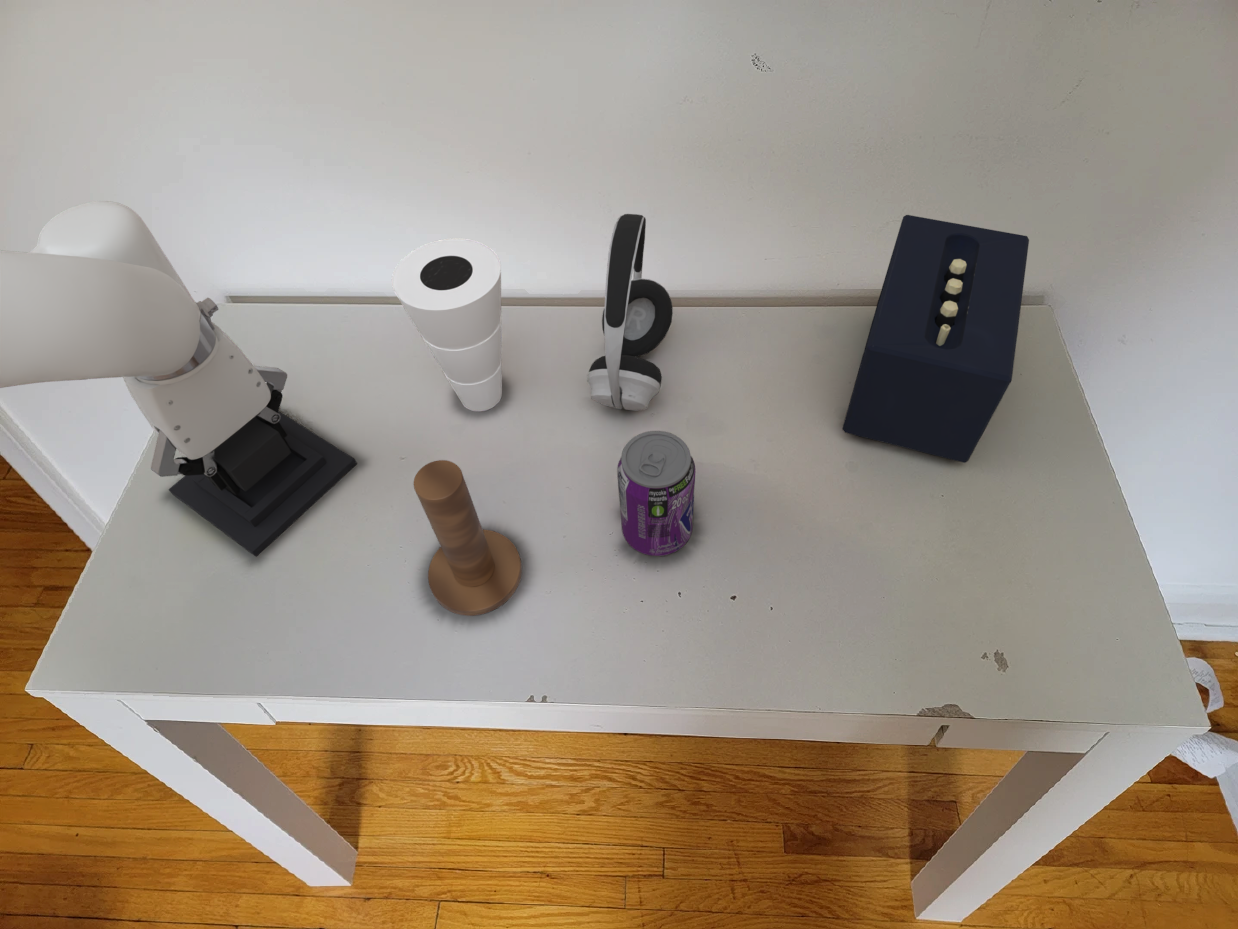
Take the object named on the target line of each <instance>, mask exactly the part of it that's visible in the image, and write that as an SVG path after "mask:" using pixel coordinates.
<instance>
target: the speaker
mask: <svg viewBox="0 0 1238 929" xmlns="http://www.w3.org/2000/svg"><path fill="white" fill-rule="evenodd" d="M1029 244H1030V239H1029V236H1027V235H1023V234H1018V233H1012V232H1007V231H1001V230H995V229H990V228H984V227H979V226H973V225H967V224H961V223H956V222H950V221H945V220H938V219H933V218H927V217H923V216H918V215H917V216H916V215H911V214H905V215H904V216H903V217H902V219H901V223H900V226H899V229H898V233H897V237H896V239H895V243H894V247H893V249H892V253H891V256H890V259H889V262H888V266H887V270H886V273H885V277H884V280H883V282H882V287H881V290H880V293H879V297H878V300H877V304H876V307H875V311H874V314H873V318H872V321H871V325H870V328H869V332H868V336H867V339H866V343H865V346H864V350H863V354H862V357H861V361H860V363H859V368H858V371H857V375H856V378H855V382H854V385H853V388H852V392H851V396H850V400H849V404H848V406H847V410H846V414H845V417H844V421H843V424H842V431H843V432H844V433H845V434H850V435H854V436H858V437H861V438H865V439H869V440H873V441H877V442H882V443H885V444H890V445H893V446H897V447H901V448H905V449H908V450H913V451H917V452H920V453H925V454H928V455H932V456H936V457H941V458H944V459H948V460H952V461H956V462H960V463H964V464H966V463H967V462H969V460H970V458H971V457H972V455H973V453H974V451H975V450H976V447H977V445H978V443H979V442H980V440H981V438H982V436H983V434H984V432H985V430H987V427H988V426H989V423H990V421H991V419H992V417H993V416H994V414H995V412H996V410H997V409H998V406H999V404H1001V401H1002V399H1003V397H1004V396H1005V393H1006V392H1007V390H1008V388H1009V386H1010V384H1011V382H1012V381H1013V380H1012V379H1013V374H1014V373H1013V372H1014V364H1015V356H1016V348H1017V342H1018V341H1017V340H1018V333H1019V325H1020V316H1021V310H1022V302H1023V301H1022V299H1023V293H1024V292H1023V291H1024V284H1025V277H1026V276H1025V275H1026V268H1027V259H1028V252H1029Z"/></svg>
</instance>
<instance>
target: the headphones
mask: <svg viewBox="0 0 1238 929" xmlns="http://www.w3.org/2000/svg"><path fill="white" fill-rule="evenodd" d="M646 224H647V219H646V217H645V216H643V214H636V213H624V214H622V215H619V217H618V218H617V219H616V221H615V223H614V226H613V229H612V233H611V237H610V242H609V247H608V254H607V267H606V273H605V275H606V276H605V290H604V291H605V292H604V307H603V310H602V315H601V329H602V330H601V331H602V333H603V336H604V352H605V353H604V354H605V355H604V356H603V355H602V356H600V357H599V358H597V359H595V360H594V361H593V362H592V364H591V365H590V368H589V370H588V372H587V375H586V376H587V379H586V382H587V383H588V385H589V388H590V398H591V399H592V400H593V401H595V402H596V403H599V404H601V405H603V406H606V407H610V408H614V409H616V410H619V411H620V410H622V409H624V410H625V411H643V410H647V409H648V406H649V403H650V402H651V400H653V398H654V397H655V396H657V395H658V394H659V392H660V389H661V386H662V380H663V379H662V378H663V375H662V372H661V369H660V367H658V366H657V365H656V364H655V363H654V362H652V361H650V360H648V359H646V358H642V356H644V355H647V354H649V353H650V352H652V351H653V350H654V349H656V348H657V347H658V346H659V345H660V344H661V343H662V341H663V340H664V339H665V337H666V336H667V334H668V332H669V329H670V327H671V325H672V322H673V314H674V312H673V310H674V309H673V308H674V306H673V302H672V298H671V296H670V294H669V292H668V290H667V289H666V288H665V287H664V286H663V285H661V283H659V282H657V281H655V280H653V279H650V278H643V265H644V264H643V263H644V252H645V251H644V250H645V242H646V227H647V226H646ZM632 278H633V279H632Z"/></svg>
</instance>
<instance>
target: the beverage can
mask: <svg viewBox="0 0 1238 929" xmlns="http://www.w3.org/2000/svg"><path fill="white" fill-rule="evenodd" d="M616 470H617V471H616V475H617V477H616V478H617V487H618V499H619V510H620V511H619V512H620V525H621V533H622V536H623V538H624V539H625V541H626V543H627V544H628V545H629V546H630V547H631V548H632V549H634V550H635V551H637V552H639V553H641V554H644V555H647V556H651V557H661V556H667V555H671V554H673V553H676V552H677V551H679V550H681V549H682V548H683V547H684V546H685V545H686V544H687V543H688V541H690V538H691V536H692V533H693V528H694V527H693V526H694V525H693V524H694V507H695V490H696V489H695V488H696V465H695V460H694V458H693V456H692V454H691V451H690V448H689V446H688V444H687V443H686V442H685V441H684V440H683V439H682V438H681V437H679V436H677V435H676V434H674V433H671V432H668V431H665V430H649V431H643V432H641V433H639V434H637V435H635V436H633V437H632V438H631V439H630V440H628V441H627V442H626V444H625V445H624V447H623V449H622V452H621V456H620V458H619V461H618V463H617V467H616Z"/></svg>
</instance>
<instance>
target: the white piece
mask: <svg viewBox="0 0 1238 929" xmlns="http://www.w3.org/2000/svg"><path fill="white" fill-rule="evenodd" d="M391 287H392V291H393V292H394V294H395V295H396V297H397V299H398V300H399V302H400V304H401V305H402V307H403V309H404V310H405V313H406V314H407V315H408V317H409V319H410V320H411V322H412V323H413V325H414V327H415V328H416V331H417V332H418V333H419V334H420V337H421V338H422V340H423V342H424V343H425V345H426V346H427V348H428V350H429V351H430V352H431V354H432V356H433V358H434V359H435V361H436V363H437V364H438V366H439V367H440V369H441V370H442V372H443V374H444V376H445V378H446V379H447V381H448V383H449V384H450V386H451V387H452V389H453V392H455V394H456V396H457V398H458V399H459V401H460V403H461V404H462V405H463V407H464V408H466V409H467V410H469V411H473V412H485V411H488V410H491V409H493V408H495V407H496V406H497V405H498V404H499V403H500V401H501V400H502V397H503V371H502V370H503V364H502V363H503V361H502V360H503V359H502V264H501V260H500V258H499V255H498V254H497V253H496V252H495V250H493V249H492V248H491V247H490V246H488V245H486V244H485V243H482V242H481V241H478V240H474V239H469V238H462V237H461V238H460V237H459V238H458V237H456V238H453V237H452V238H451V237H450V238H444V239H439V240H434V241H431V242H428V243H425V244H422V245H421V246H418V247H416V248H415V249H413V250H411V251H410V252H408V253H407V254H406V255H405V256H403V257H402V258H401V259H400V261H399V262H398V263H397V264H396V266H395V267H394V270H393V272H392V275H391Z"/></svg>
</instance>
